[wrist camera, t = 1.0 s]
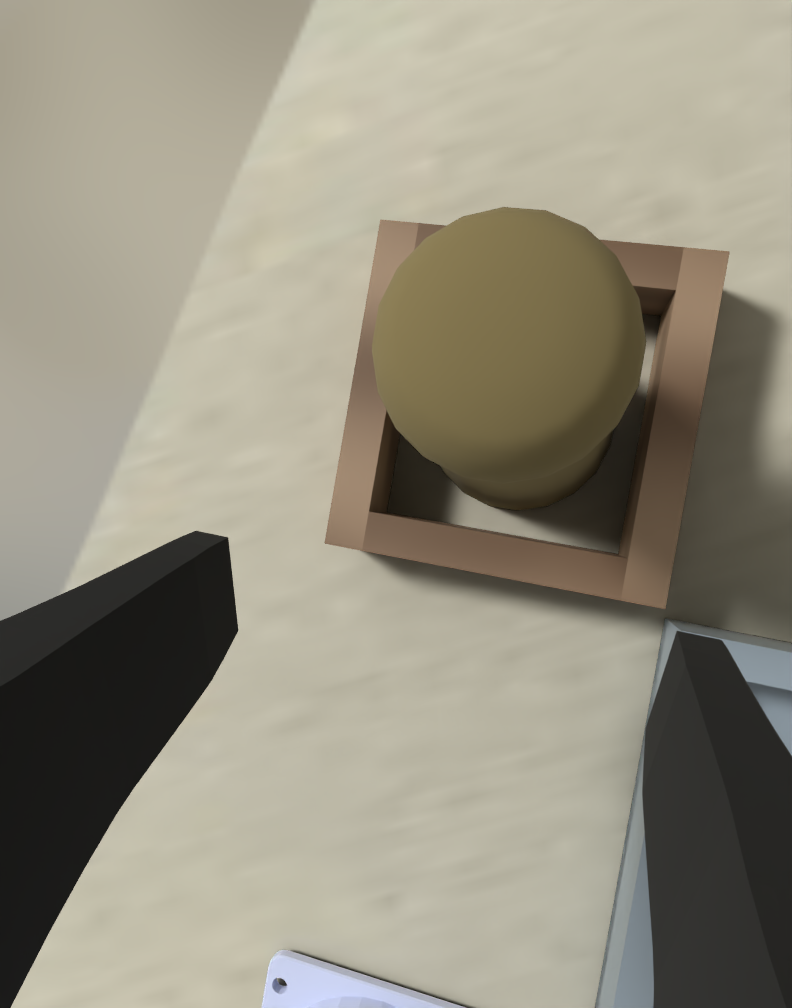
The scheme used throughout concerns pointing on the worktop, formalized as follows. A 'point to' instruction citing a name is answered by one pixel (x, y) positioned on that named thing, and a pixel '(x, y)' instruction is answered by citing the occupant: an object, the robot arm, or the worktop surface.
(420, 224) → the frame
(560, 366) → the cork
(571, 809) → the worktop surface
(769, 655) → the parts tray
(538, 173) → the worktop surface
